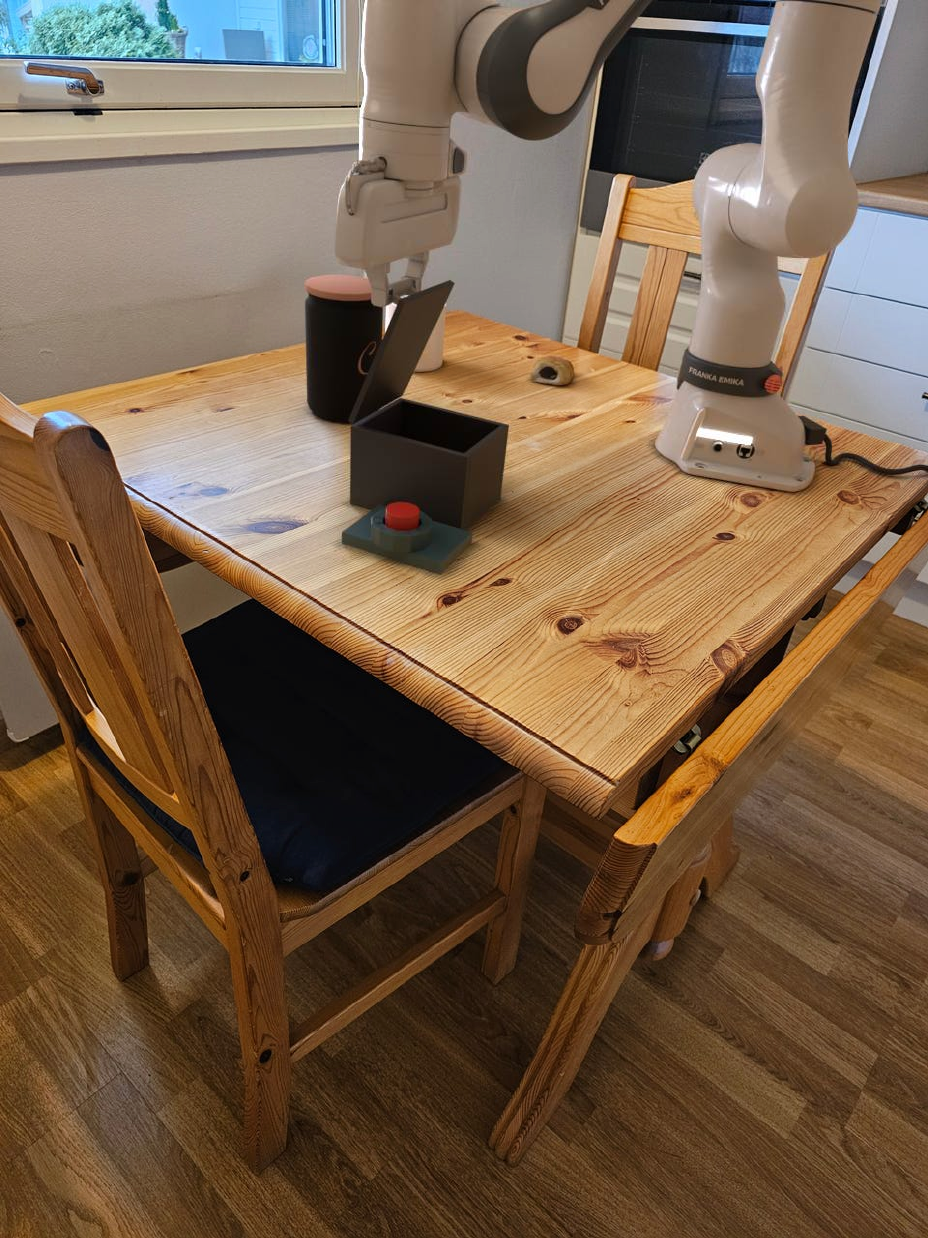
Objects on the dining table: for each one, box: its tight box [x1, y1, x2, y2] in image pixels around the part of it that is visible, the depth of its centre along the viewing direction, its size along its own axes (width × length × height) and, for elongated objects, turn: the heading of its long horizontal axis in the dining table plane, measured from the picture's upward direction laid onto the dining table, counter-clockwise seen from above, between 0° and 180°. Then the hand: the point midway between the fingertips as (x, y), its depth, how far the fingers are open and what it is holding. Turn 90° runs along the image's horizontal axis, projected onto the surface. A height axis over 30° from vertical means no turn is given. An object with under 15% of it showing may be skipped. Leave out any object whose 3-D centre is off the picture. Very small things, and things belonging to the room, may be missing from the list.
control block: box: [341, 505, 473, 575], centre depth 93 cm, size 12×9×4 cm
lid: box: [348, 278, 456, 425], centre depth 95 cm, size 15×12×4 cm
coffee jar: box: [304, 274, 384, 424], centre depth 121 cm, size 11×11×18 cm
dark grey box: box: [349, 397, 510, 531], centre depth 100 cm, size 15×12×10 cm
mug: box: [384, 295, 447, 373], centre depth 143 cm, size 13×10×10 cm
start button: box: [385, 502, 420, 531], centre depth 91 cm, size 4×4×2 cm
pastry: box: [530, 355, 575, 386], centre depth 146 cm, size 9×7×4 cm
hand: (396, 299), depth 92 cm, fingers closed on lid, 5 cm apart
